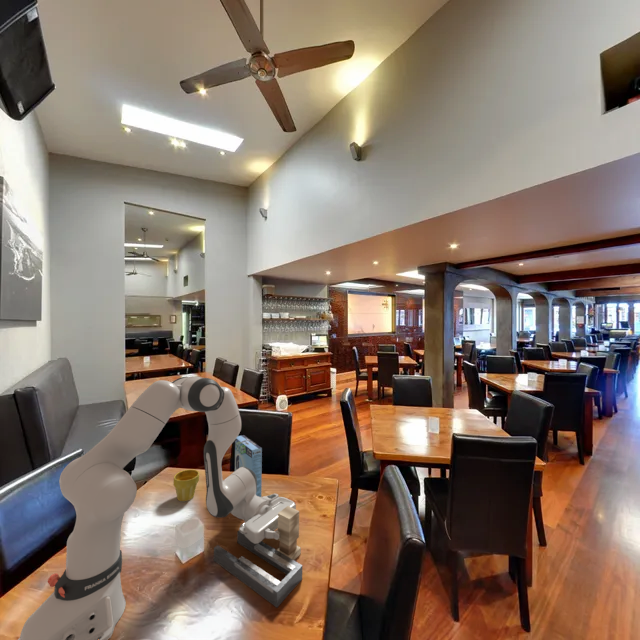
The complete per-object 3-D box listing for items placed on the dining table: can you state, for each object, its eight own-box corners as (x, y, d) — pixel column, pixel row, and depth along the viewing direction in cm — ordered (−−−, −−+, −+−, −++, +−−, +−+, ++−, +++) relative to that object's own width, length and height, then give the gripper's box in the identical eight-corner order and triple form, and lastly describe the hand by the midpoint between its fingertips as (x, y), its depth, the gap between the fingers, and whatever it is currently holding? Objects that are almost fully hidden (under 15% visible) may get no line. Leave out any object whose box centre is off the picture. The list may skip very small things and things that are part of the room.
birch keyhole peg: (288, 565, 92) (289, 520, 93) (274, 557, 96) (275, 513, 96) (300, 553, 97) (301, 510, 98) (287, 545, 101) (287, 504, 101)
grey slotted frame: (276, 607, 78) (277, 592, 78) (213, 560, 94) (213, 547, 94) (302, 579, 87) (302, 565, 87) (240, 540, 103) (240, 528, 103)
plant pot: (203, 495, 130) (204, 473, 130) (181, 507, 121) (182, 483, 121) (190, 488, 136) (190, 466, 136) (168, 498, 127) (168, 476, 127)
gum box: (261, 501, 126) (262, 447, 127) (250, 505, 123) (251, 450, 124) (243, 482, 142) (244, 434, 142) (233, 485, 139) (234, 436, 139)
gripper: (236, 519, 96) (266, 536, 88) (278, 491, 113) (307, 503, 105) (235, 538, 96) (266, 557, 88) (278, 507, 113) (307, 521, 105)
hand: (288, 528), depth 97 cm, fingers open, 8 cm apart
